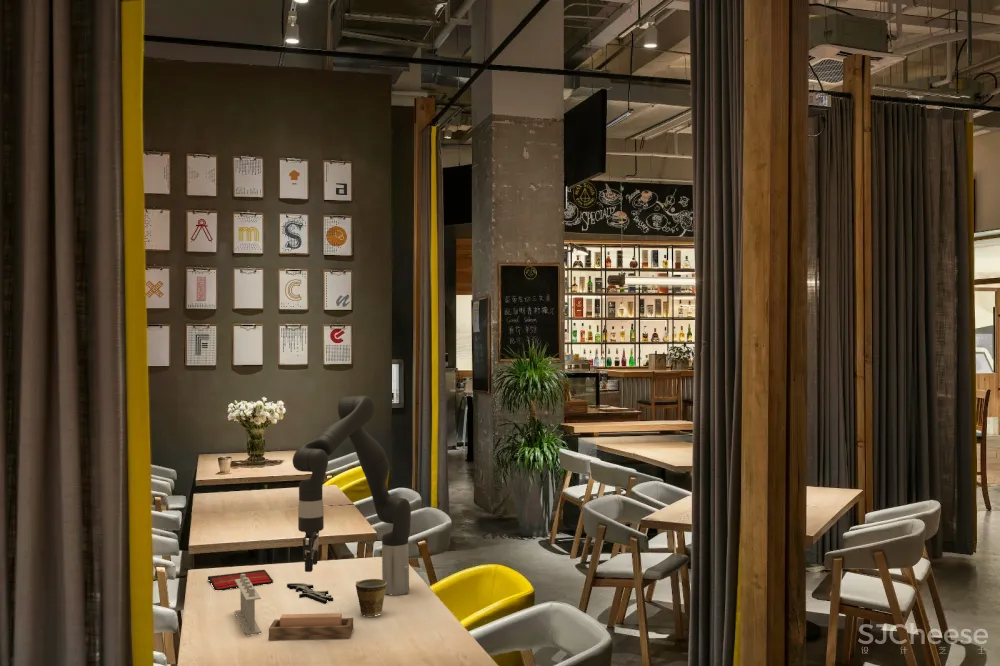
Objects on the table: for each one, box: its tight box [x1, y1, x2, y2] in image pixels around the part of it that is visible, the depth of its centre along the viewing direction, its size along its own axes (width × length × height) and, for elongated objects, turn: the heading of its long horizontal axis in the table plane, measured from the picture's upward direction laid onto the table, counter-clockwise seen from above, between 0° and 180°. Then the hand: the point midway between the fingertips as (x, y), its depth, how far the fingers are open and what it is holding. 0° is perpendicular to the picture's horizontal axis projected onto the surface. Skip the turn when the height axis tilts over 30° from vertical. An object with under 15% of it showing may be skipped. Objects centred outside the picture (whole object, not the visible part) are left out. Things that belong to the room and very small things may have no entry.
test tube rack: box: [234, 574, 262, 636], centre depth 279 cm, size 25×4×13 cm, turn 25°
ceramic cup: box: [355, 578, 387, 617], centre depth 288 cm, size 13×10×10 cm
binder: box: [207, 569, 274, 591], centre depth 326 cm, size 16×2×21 cm
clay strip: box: [279, 612, 343, 627], centre depth 268 cm, size 18×4×4 cm, turn 93°
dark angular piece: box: [286, 582, 334, 605], centre depth 310 cm, size 28×2×10 cm
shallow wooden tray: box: [268, 617, 354, 641], centre depth 268 cm, size 24×9×3 cm, turn 92°
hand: (311, 567), depth 268 cm, fingers open, 8 cm apart
